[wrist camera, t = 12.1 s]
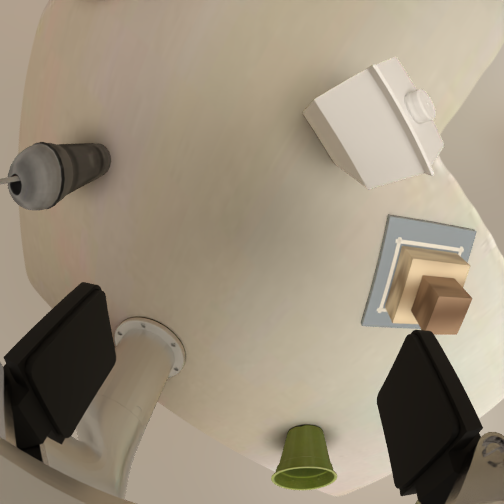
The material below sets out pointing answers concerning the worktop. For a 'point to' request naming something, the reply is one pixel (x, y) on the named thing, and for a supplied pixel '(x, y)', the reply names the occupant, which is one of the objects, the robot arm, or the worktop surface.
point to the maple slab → (410, 274)
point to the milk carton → (377, 125)
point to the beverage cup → (54, 172)
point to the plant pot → (304, 460)
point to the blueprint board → (395, 237)
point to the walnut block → (440, 305)
